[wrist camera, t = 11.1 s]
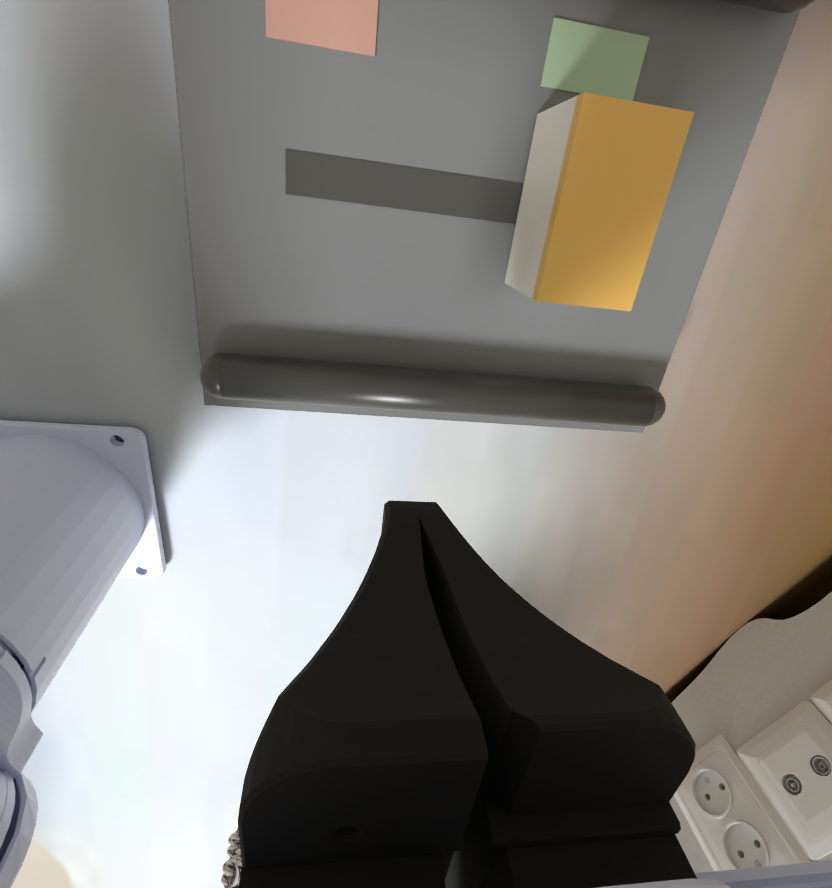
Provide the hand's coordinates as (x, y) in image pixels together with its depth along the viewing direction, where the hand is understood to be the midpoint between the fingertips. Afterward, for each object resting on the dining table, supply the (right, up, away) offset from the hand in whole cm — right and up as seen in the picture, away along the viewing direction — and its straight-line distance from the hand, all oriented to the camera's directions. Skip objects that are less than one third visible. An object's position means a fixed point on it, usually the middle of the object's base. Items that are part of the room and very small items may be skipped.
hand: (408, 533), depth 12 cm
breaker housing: (+2, +11, +5) cm, 13 cm away
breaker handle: (+5, +10, +4) cm, 12 cm away
